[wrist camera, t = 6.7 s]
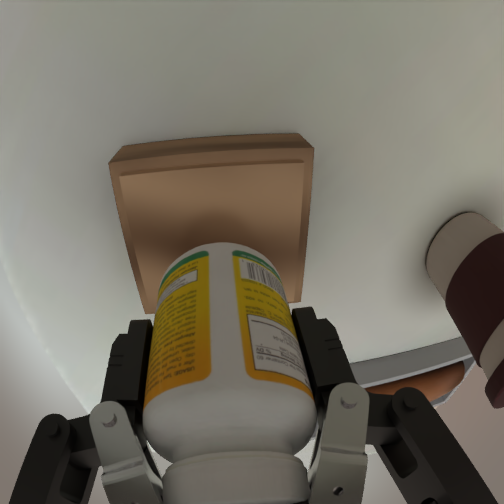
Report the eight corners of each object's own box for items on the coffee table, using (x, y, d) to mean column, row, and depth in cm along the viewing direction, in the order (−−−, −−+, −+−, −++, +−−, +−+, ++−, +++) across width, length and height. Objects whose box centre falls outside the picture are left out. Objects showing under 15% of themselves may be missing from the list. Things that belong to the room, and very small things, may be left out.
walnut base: (122, 146, 17) (105, 166, 14) (298, 133, 18) (317, 151, 15) (150, 284, 22) (144, 319, 19) (290, 273, 23) (302, 307, 20)
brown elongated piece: (315, 417, 35) (333, 448, 29) (318, 366, 35) (340, 392, 28) (432, 391, 38) (460, 410, 31) (440, 345, 37) (472, 361, 30)
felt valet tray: (308, 370, 31) (314, 393, 28) (475, 332, 33) (486, 348, 30) (296, 423, 38) (300, 441, 35) (439, 388, 40) (446, 402, 38)
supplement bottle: (286, 236, 13) (371, 475, 5) (273, 328, 16) (315, 515, 8) (152, 238, 12) (111, 495, 5) (165, 331, 15) (159, 526, 8)
